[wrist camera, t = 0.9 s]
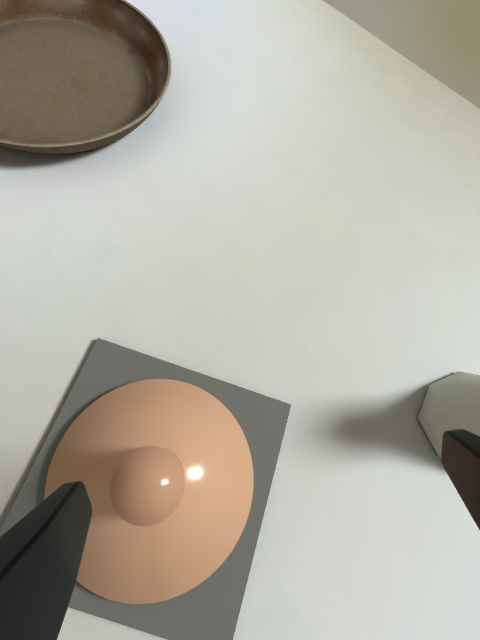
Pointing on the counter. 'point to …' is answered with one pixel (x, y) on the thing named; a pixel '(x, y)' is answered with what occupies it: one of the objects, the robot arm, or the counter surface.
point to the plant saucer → (77, 73)
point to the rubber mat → (231, 577)
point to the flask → (451, 407)
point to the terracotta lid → (156, 488)
